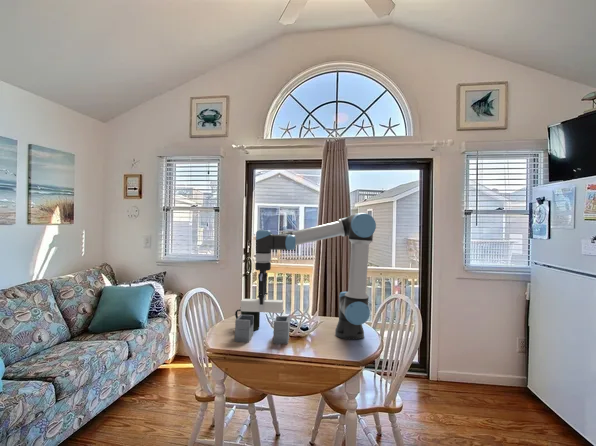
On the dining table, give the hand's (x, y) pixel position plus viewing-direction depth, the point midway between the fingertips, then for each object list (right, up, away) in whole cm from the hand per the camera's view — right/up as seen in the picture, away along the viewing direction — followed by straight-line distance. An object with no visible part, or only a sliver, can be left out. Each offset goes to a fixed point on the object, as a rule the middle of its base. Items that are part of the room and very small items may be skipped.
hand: (262, 309), depth 170 cm
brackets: (0, -16, +6) cm, 18 cm away
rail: (0, -1, 0) cm, 1 cm away
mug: (-11, -16, +24) cm, 31 cm away
